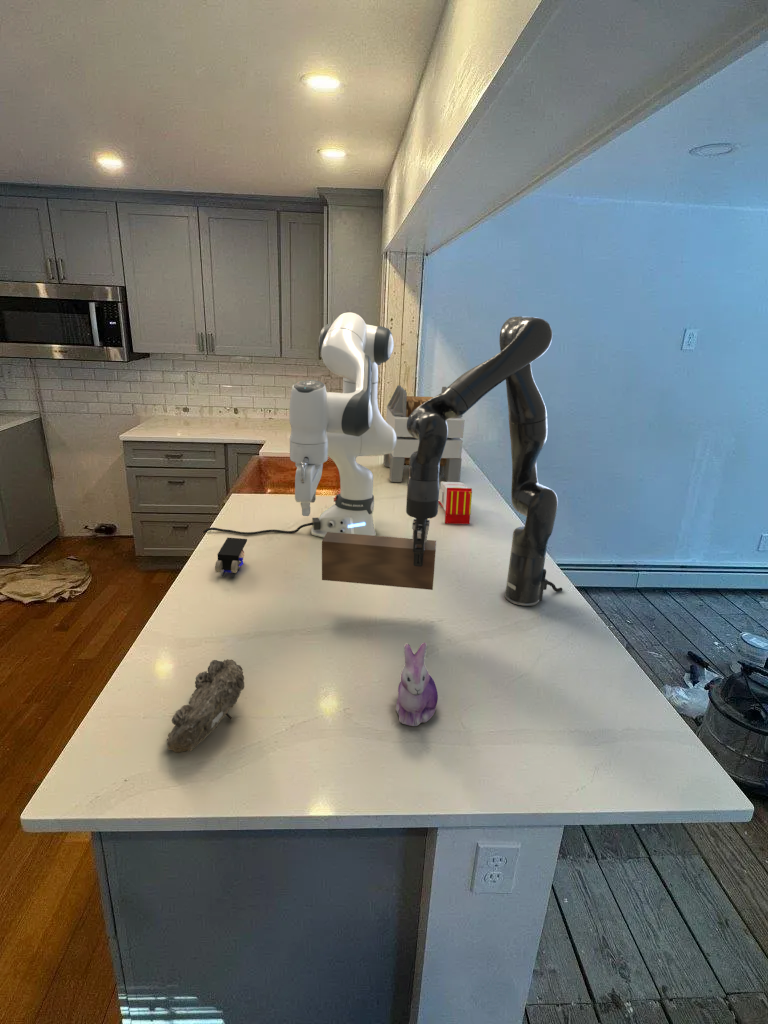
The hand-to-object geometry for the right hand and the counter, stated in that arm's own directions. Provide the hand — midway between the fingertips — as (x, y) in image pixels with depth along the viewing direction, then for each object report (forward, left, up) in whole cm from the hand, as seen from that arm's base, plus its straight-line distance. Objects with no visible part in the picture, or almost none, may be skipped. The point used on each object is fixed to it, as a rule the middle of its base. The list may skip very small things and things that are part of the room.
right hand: (418, 559), depth 139 cm
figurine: (+14, +33, -17) cm, 39 cm away
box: (+9, -5, -6) cm, 12 cm away
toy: (-46, -72, -17) cm, 87 cm away
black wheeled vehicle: (+41, -41, -17) cm, 61 cm away
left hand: (+25, -11, +12) cm, 30 cm away
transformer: (-56, -126, -17) cm, 139 cm away
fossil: (+51, +22, -17) cm, 59 cm away
